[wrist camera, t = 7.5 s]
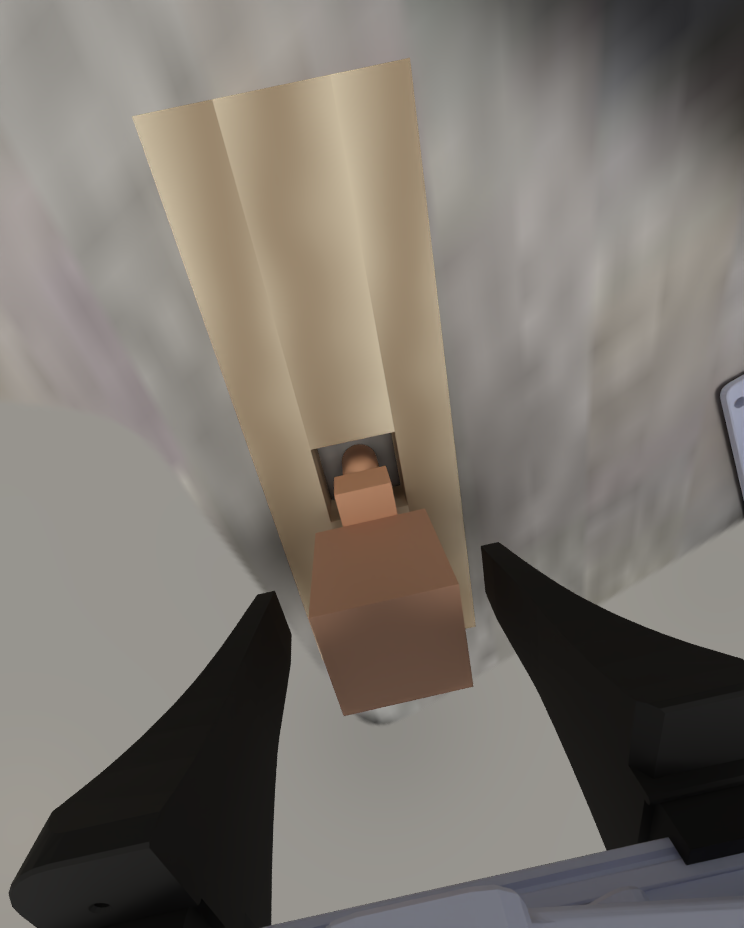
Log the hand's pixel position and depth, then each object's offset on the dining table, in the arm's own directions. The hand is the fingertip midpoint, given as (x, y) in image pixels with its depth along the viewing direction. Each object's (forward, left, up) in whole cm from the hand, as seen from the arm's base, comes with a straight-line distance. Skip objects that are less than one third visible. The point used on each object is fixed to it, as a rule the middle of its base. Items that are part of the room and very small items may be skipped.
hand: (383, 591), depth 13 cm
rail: (+4, -1, -6) cm, 7 cm away
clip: (0, 0, -6) cm, 6 cm away
